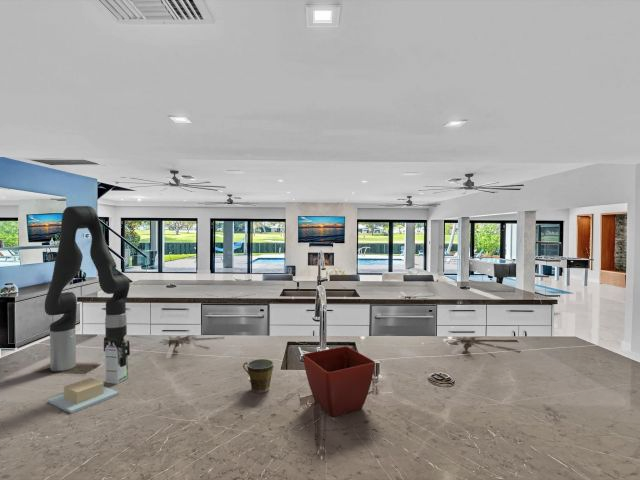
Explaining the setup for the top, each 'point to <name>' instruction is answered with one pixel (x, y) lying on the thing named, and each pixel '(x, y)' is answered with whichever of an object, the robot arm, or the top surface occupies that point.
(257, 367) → the ceramic cup
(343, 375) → the plant pot
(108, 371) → the syrup box
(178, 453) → the top surface
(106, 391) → the build base
